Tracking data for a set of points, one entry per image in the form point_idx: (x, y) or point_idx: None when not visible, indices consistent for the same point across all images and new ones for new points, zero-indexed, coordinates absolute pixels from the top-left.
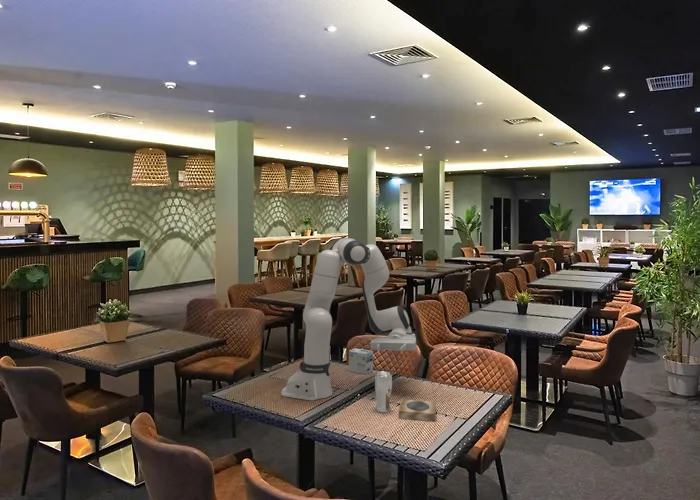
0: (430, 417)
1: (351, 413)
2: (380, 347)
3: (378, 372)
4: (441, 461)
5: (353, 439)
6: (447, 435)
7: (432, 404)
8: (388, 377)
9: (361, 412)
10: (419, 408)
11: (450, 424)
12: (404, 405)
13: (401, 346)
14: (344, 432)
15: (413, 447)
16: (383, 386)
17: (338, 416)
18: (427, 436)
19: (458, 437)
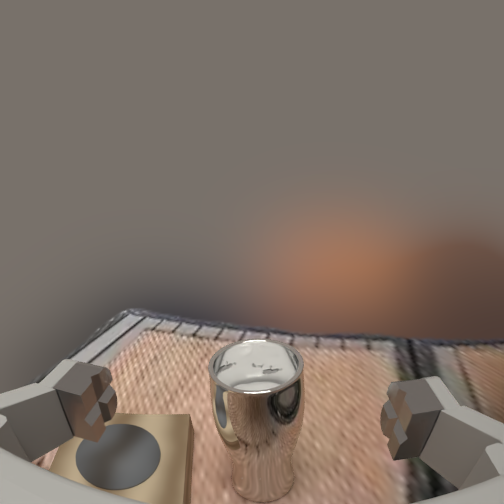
0: None
1: (358, 419)
2: (393, 387)
3: (294, 377)
4: (125, 314)
5: (284, 330)
6: None
7: (60, 471)
8: (223, 354)
9: (332, 436)
10: (115, 432)
11: None
12: (168, 456)
13: (52, 390)
14: (315, 342)
15: (163, 333)
16: (249, 378)
17: (379, 391)
18: (126, 365)
19: None
